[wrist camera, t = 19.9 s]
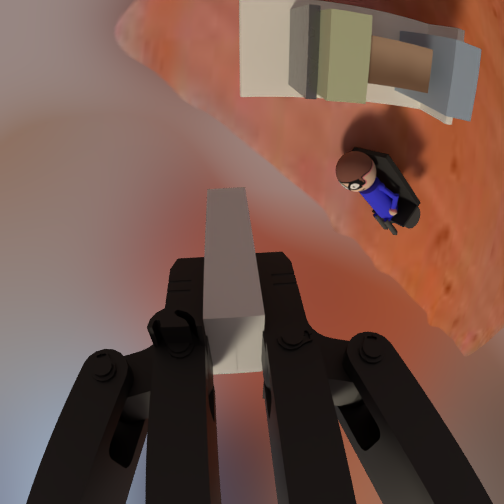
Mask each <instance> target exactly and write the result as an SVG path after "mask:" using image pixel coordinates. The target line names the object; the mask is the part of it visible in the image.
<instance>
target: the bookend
mask: <svg viewBox="0 0 504 504" xmlns="http://www.w3.org/2000/svg"><path fill="white" fill-rule="evenodd" d="M320 10H321V5H312V4H308V5H304V6H301V7H298V8H294V9H291V10H290V43H289V79H288V85H290V86H291V87H292V88H293V89H295V90H296V91H297V92H298V93H299V94H301V95H302V96H303V97H304V98H305V99H316V98H317V82H318V63H319V41H320Z"/></svg>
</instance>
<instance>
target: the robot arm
mask: <svg viewBox="0 0 504 504" xmlns="http://www.w3.org/2000/svg"><path fill="white" fill-rule="evenodd" d="M167 292H168V293H167V297H166V305H165V308H164V309H163V310H161V311H159V312H157V313H156V314H155V315H154V316H153V317H152V318H151V319H150V321H149V324H148V326H147V329H148V332H149V334H150V337H151V339H152V342H153V345H152V346H150V347H149V348H147V349H145V350H142V351H140V352H136V353H133V354H130V355H126V356H123V355H122V354H121V353H120V352H117V351H115V350H113V349H103V350H100V351H96V352H95V353H93V354H92V355H90V356H89V357H88V359H87V360H86V361H85V363H84V364H83V366H82V368H81V371H80V372H79V375H78V377H77V379H76V381H75V383H74V385H73V387H72V389H71V392H70V394H69V396H68V398H67V400H66V403H65V405H64V407H63V409H62V412H61V414H60V416H59V418H58V421H57V423H56V425H55V428H54V430H53V433H52V435H51V438H50V440H49V442H48V445H47V447H46V450H45V453H44V455H43V458H42V461H41V463H40V466H39V468H38V471H37V474H36V477H35V479H34V483H33V485H32V488H31V491H30V494H29V497H28V500H27V503H26V504H126V500H127V497H128V494H129V490H130V487H131V484H132V480H133V477H134V474H135V470H136V467H137V464H138V461H139V457H140V454H141V451H142V448H143V445H144V442H145V438H146V435H147V434H148V435H147V455H146V504H221V492H220V478H219V462H218V445H217V427H216V405H215V390H214V385H213V374H228V373H245V372H257V371H262V369H263V377H264V386H263V398H265V405H266V413H267V421H268V429H269V437H270V445H271V453H272V460H273V467H274V476H275V484H276V491H277V499H278V504H356V500H355V495H354V490H353V485H352V480H351V476H350V471H349V467H348V462H347V458H346V453H345V449H344V444H343V440H342V436H341V431H340V427H339V423H338V420H339V422H340V424H341V426H342V428H343V430H344V432H345V434H346V435H347V437H348V439H349V441H350V443H351V445H352V447H353V449H354V450H355V452H356V454H357V456H358V458H359V460H360V462H361V463H362V465H363V467H364V469H365V471H366V473H367V475H368V477H369V478H370V480H371V482H372V484H373V486H374V487H375V490H376V492H377V493H378V495H379V497H380V499H381V501H382V503H383V504H493V503H492V501H491V500H490V498H489V496H488V494H487V493H486V491H485V489H484V487H483V485H482V483H481V482H480V480H479V478H478V477H477V475H476V473H475V472H474V470H473V468H472V466H471V465H470V463H469V462H468V460H467V458H466V456H465V455H464V453H463V452H462V450H461V448H460V447H459V445H458V443H457V442H456V440H455V438H454V437H453V436H452V434H451V432H450V431H449V429H448V427H447V426H446V424H445V423H444V421H443V420H442V418H441V417H440V415H439V413H438V412H437V410H436V409H435V407H434V406H433V404H432V403H431V401H430V400H429V398H428V397H427V395H426V394H425V392H424V391H423V389H422V388H421V386H420V385H419V384H418V382H417V380H416V379H415V377H414V376H413V374H412V373H411V371H410V370H409V369H408V367H407V366H406V364H405V363H404V361H403V360H402V359H401V357H400V356H399V354H398V353H397V351H396V350H395V348H394V347H393V346H392V344H391V343H390V342H389V341H388V340H387V339H386V338H385V337H383V336H382V335H379V334H377V333H373V332H363V333H359V334H357V335H355V336H354V337H352V339H351V340H350V341H345V340H338V339H333V338H329V337H325V336H323V335H321V334H319V333H317V332H316V331H315V330H314V329H312V327H311V326H310V325H309V324H308V321H307V319H306V315H305V312H304V308H303V304H302V300H301V296H300V293H299V289H298V285H297V282H296V278H295V275H294V271H293V267H292V263H291V261H290V260H289V259H288V258H287V257H286V255H285V254H284V253H283V252H268V253H255V248H254V242H253V235H252V229H251V223H250V216H249V210H248V203H247V197H246V190H245V188H244V187H243V188H223V189H208V191H207V211H206V231H205V256H204V257H198V258H181V259H177V261H176V262H175V263H174V265H173V266H172V268H171V269H170V275H169V283H168V289H167ZM147 432H148V433H147Z"/></svg>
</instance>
